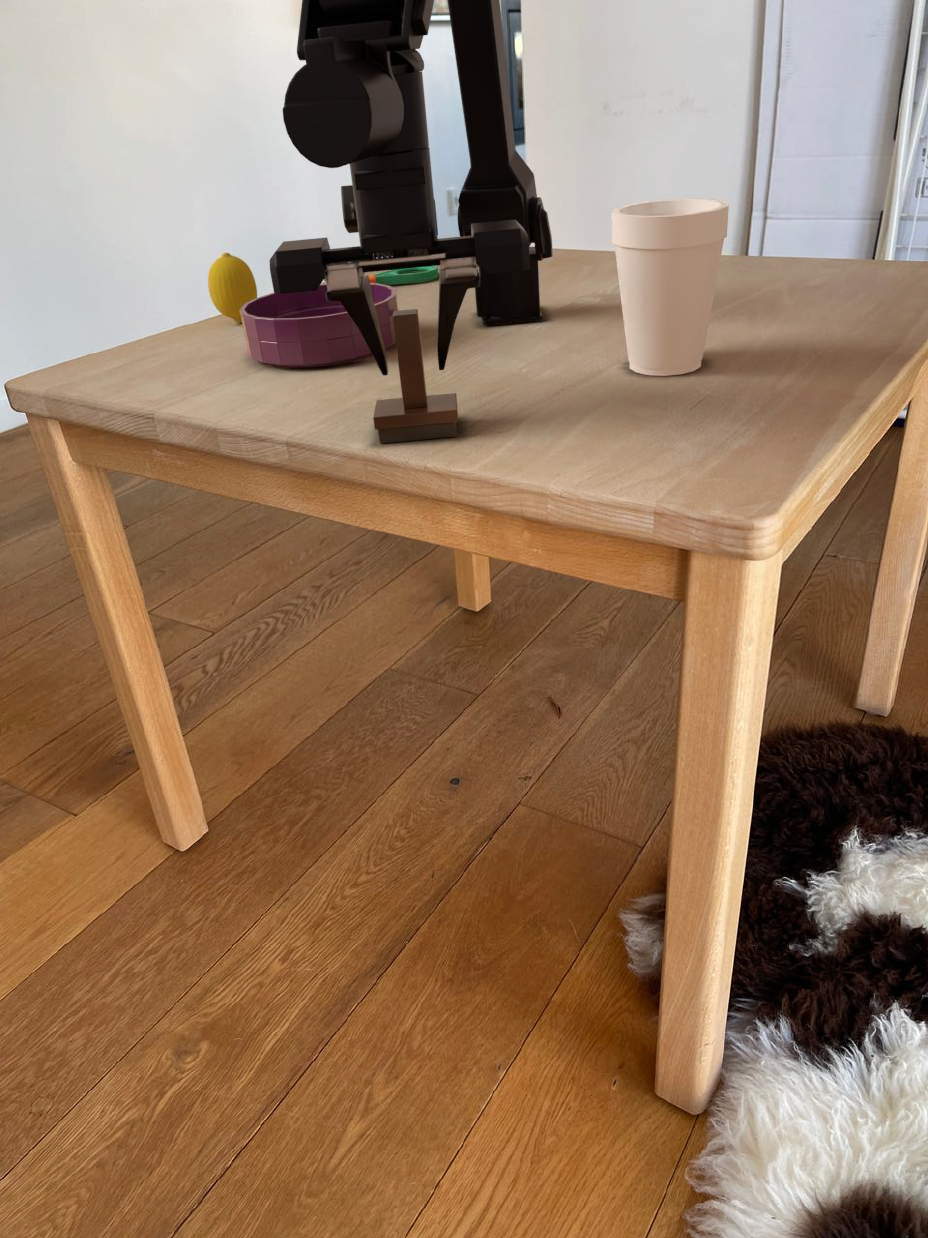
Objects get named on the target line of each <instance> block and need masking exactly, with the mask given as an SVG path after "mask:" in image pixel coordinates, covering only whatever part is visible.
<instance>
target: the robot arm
mask: <svg viewBox="0 0 928 1238" xmlns="http://www.w3.org/2000/svg"><path fill="white" fill-rule="evenodd" d="M434 3H435V0H301V9H300V18H299V26H298V34H297V43H296V56H297V58H298V60H299V61H305V64H304V65H303V66H301V67H300V68H299V69H298V70H297V71H296V72H295V73H294V74H293V76H292V78H291V79H290V81H289V83H288V86H287V89H286V91H285V94H284V104H283V107H282V118H283V119H282V120H283V124H284V127H285V130H286V134H287V136H288V138H289V139H290V142H291V143H292V145H293V146H294V148H295V149H296V150H297V152H299V154H300V155H301V156H302V157H304V158H305V159H306V160H307V161H308V162H309V163H312V164H315V165H316V166H318V167H323V168H329V169H338V168H341V167H344V166H348V165H349V170H350V176H351V184H350V185H341V186H340V194H341V208H342V209H341V210H342V218H343V225H344V228H345V230H346V232H347V233H348V234H355V233H358V238H359V246H349V247H348V246H347V247H336V248H331V247H330V242H329V240H328V237H318V238H306V239H296V240H286V241H282V242H281V244H279V247H278V248H277V249H276V250H275V251H274V252H273V254H272V256H271V257H270V259H269V272H270V278H271V284H272V289H273V293H278V294H284V293H295V292H305V291H316V290H317V288H318V287H319V285H320V284H323V281H324V282H325V284H327V291H326V293H325V294H326V300H327V301H339V302H340V303H341V304H342V305H343V307H344V308H345V310H346V311H347V313H348V314H349V316H350V317H351V319H352V320H353V321H354V323H355V324H356V326H357V327H358V329H359V330H360V332H361V334H362V336H363V338H364V339H365V341H366V343H367V345H368V347H369V349H370V351H371V353H372V355H373V356H372V357H373V359H374V361H375V363H376V365H377V367H378V369H379V371H380V373H381V375H382V376H388V374H389V367H388V366H389V365H388V359H387V358H388V357H387V351H386V349H385V346H384V342H383V338H382V334H381V330H380V326H379V322H378V318H377V314H376V310H375V306H374V302H373V297H372V291H371V285H370V280H369V275H365V274H366V273H373V272H386V271H389V270H396V269H406V268H417V267H427V266H437V267H438V266H440V268H438V313H437V341H436V343H437V344H436V347H437V348H436V351H437V352H436V353H437V363H438V370H439V371H444V370H445V367H446V363H447V359H448V354H449V349H450V345H451V341H452V337H453V333H454V327H455V324H456V321H457V318H458V316H459V315H458V314H459V312H460V310H461V307H462V304H463V301H464V299H465V297H466V294H467V291H468V290H469V289H474V299H475V309H476V310H475V311H476V315H477V317H478V318H481V322H482V325H483V326H493V325H501V324H503V325H504V324H514V323H523V322H533V321H535V322H536V321H542V320H543V319H544V318H543V317H544V316H543V313H542V311H541V299H540V275H539V273H540V272H539V262H542V261H543V260H545V259H549V258H553V255H554V254H553V238H552V230H551V226H550V221H549V214H548V212H547V211H546V210H545V206H544V203H543V200H542V198H541V197H540V196H538V192H537V186H536V179H535V174H534V172H533V171H532V170H531V168H530V167H529V166H528V164H527V162H525V160H524V159H523V158H522V156H521V155H520V154H519V153H518V151H517V149H516V143H515V142H516V141H515V132H514V125H513V124H514V121H513V114H512V103H511V95H510V85H509V76H508V68H507V66H508V65H507V58H506V49H505V48H506V47H505V39H504V29H503V20H502V10H501V0H447V6H448V7H447V8H448V15H449V21H450V29H451V35H452V41H453V49H454V56H455V64H456V71H457V78H458V85H459V90H460V91H459V93H460V99H461V105H462V113H463V119H464V127H465V133H466V141H467V149H468V154H469V155H468V156H469V163H470V168H469V169H468V172H467V175H466V177H465V180H464V183H463V185H462V187H461V190H460V193H459V196H458V200H457V201H458V207H457V227H458V233H459V236H452V237H442V238H438V236H439V230H438V218H437V207H436V199H435V195H434V185H433V172H432V163H431V162H432V161H431V152H430V141H429V133H428V131H429V130H428V120H427V109H426V100H425V99H426V98H425V87H424V86H425V85H424V77H423V70H425V62H424V59H423V57H422V55H421V53H420V52H419V51H418V50H420V49H421V46H422V43H423V39H424V36H428V35H429V31H430V25H431V21H432V14H433V8H434ZM532 244H534V246H531V245H532Z"/></svg>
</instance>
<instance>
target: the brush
mask: <svg viewBox="0 0 928 1238" xmlns="http://www.w3.org/2000/svg"><path fill="white" fill-rule="evenodd" d="M393 324H394V332H395V340H396V343H395V347H396V348H395V349H396V355H397V363H398V373H399V381H400V390H401V396H402V397H398V398H386V399H376V402H375V406H374V411H373V426H374V430H375V431H376V430H377V435H378V441H379V444H391V443H402V442H413V441H423V440H436V439H446V438H457V436H458V429H457V427H458V426H457V423H459V411H458V397H457V393H456V392H452V393H439V394H430V395H429V394H428V393H427V384H426V376H425V367H424V357H423V347H422V337H421V329H420V320H419V310H418V309H417V308H413V309H412V308H411V309H404V310H402V309H401V310H400V309H399V311H394V313H393Z"/></svg>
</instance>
